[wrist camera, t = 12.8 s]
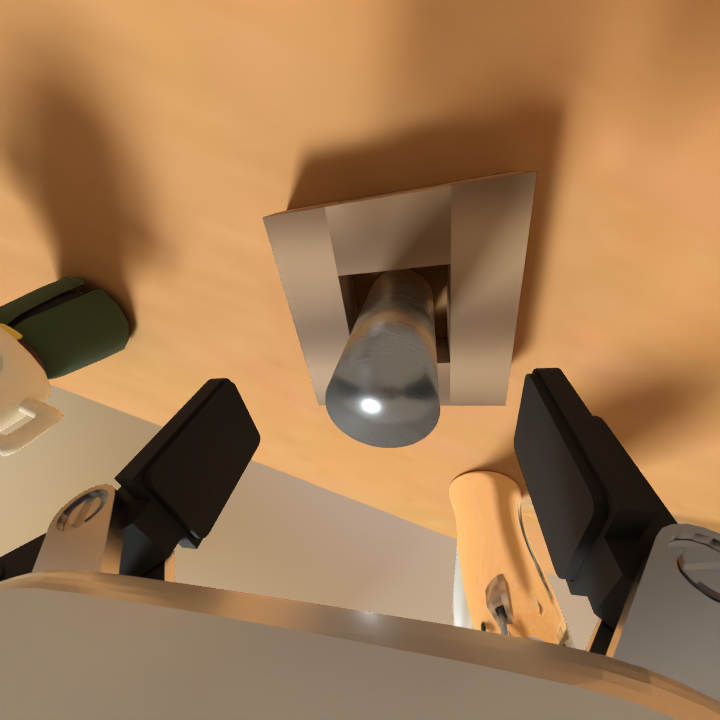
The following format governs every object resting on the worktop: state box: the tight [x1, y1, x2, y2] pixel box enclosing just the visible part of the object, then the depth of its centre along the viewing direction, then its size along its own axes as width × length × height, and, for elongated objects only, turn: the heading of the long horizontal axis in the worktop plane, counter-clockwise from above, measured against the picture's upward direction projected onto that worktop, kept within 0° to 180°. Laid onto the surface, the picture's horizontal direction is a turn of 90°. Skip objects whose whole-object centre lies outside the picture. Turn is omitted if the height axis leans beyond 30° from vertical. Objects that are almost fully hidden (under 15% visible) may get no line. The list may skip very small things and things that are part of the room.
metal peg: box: [325, 269, 440, 448], centre depth 14 cm, size 4×4×10 cm
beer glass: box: [449, 471, 576, 649], centre depth 21 cm, size 7×7×15 cm
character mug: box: [0, 277, 129, 456], centre depth 18 cm, size 11×7×13 cm, turn 59°
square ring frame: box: [263, 171, 537, 406], centre depth 17 cm, size 12×12×3 cm
